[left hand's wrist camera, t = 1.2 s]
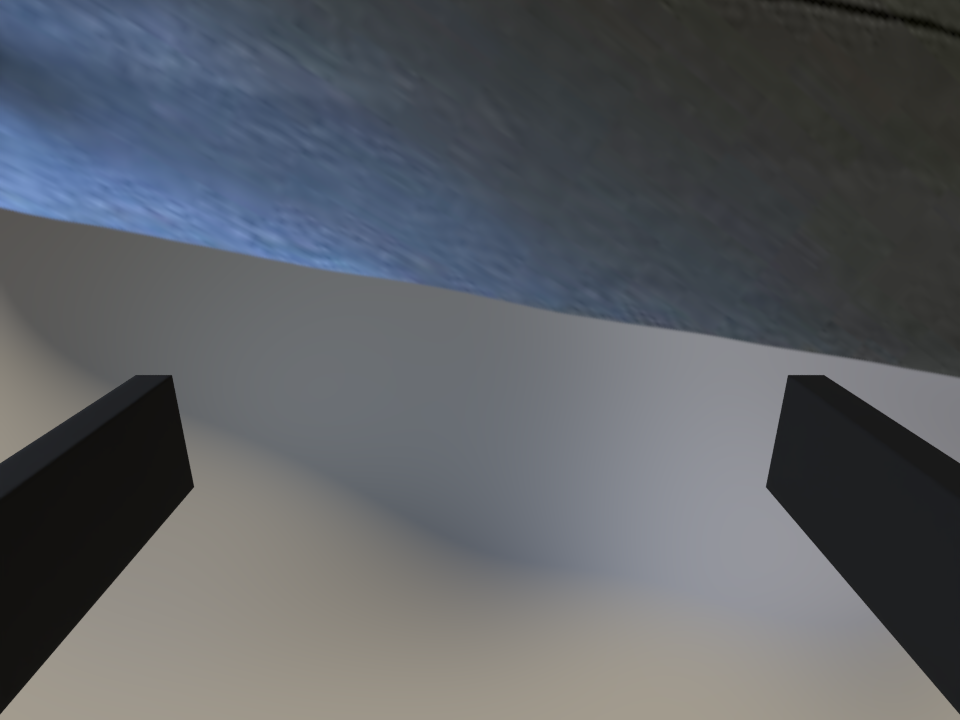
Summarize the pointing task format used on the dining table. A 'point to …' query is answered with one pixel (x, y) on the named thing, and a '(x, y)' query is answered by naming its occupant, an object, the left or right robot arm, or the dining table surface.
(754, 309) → the dining table surface
